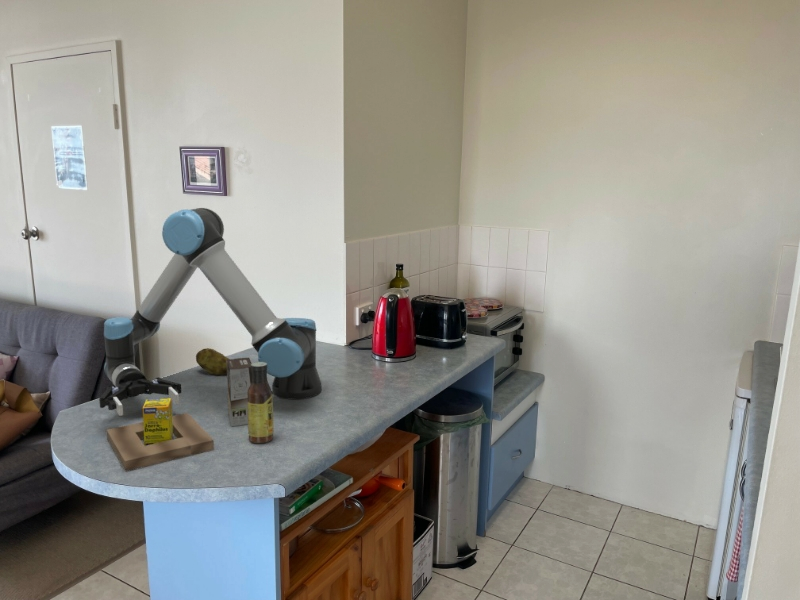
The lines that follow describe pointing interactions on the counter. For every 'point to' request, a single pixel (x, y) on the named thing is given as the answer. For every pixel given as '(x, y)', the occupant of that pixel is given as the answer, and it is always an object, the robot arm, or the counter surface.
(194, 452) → the socket board
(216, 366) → the potato
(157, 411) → the supplement box
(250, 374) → the coffee box
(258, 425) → the sauce bottle
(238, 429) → the counter surface
